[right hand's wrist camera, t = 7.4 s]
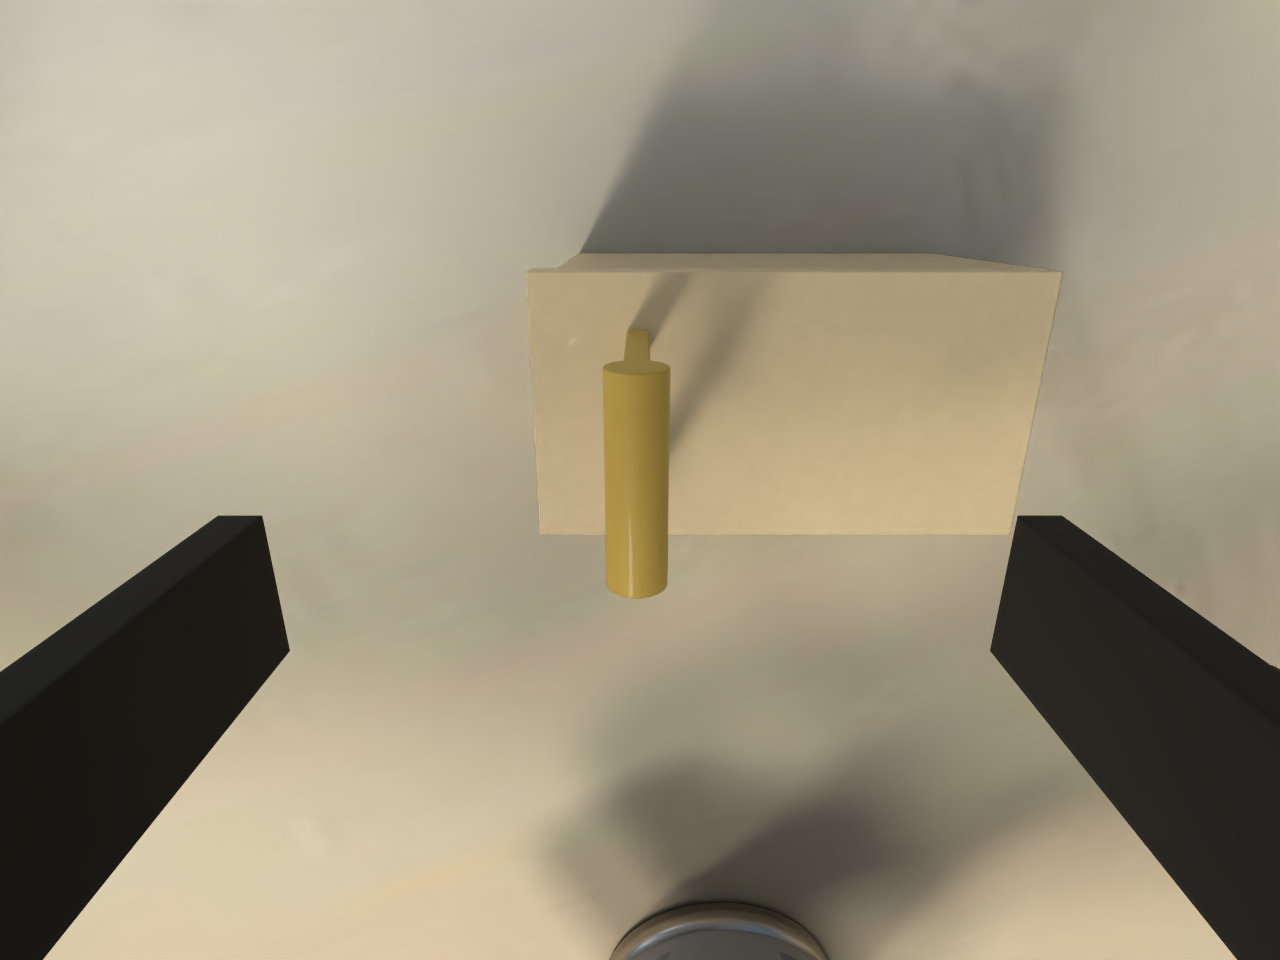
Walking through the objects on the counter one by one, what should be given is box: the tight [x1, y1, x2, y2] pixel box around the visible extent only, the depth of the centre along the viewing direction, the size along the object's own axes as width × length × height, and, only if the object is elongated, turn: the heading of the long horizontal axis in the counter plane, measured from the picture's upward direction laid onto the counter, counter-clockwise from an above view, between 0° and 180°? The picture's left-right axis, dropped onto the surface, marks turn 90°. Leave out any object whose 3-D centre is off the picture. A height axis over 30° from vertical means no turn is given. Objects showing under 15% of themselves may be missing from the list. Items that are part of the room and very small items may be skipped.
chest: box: [556, 253, 1039, 269], centre depth 29 cm, size 16×9×9 cm, turn 90°
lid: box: [526, 269, 1063, 598], centre depth 21 cm, size 17×9×8 cm, turn 90°
